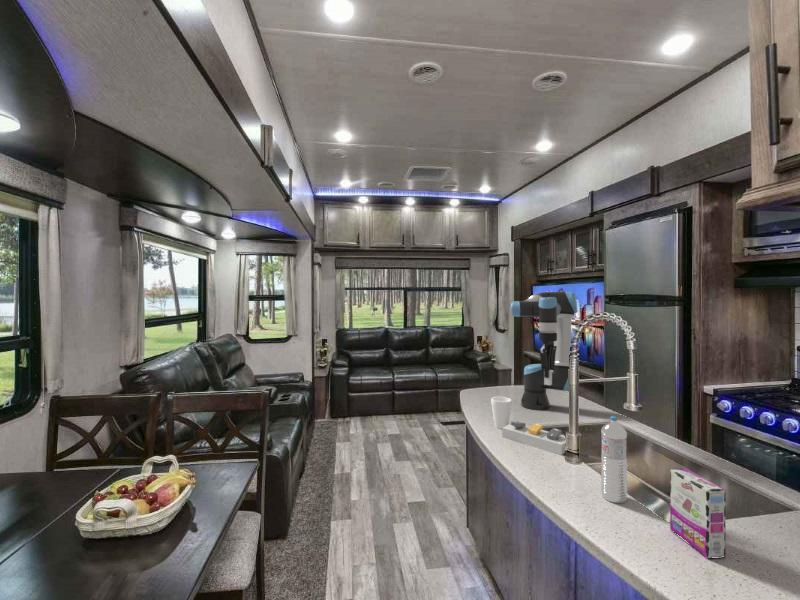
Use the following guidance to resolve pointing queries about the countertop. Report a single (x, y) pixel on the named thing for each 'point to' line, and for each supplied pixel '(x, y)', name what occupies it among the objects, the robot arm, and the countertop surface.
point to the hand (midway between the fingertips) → (548, 384)
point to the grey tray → (536, 439)
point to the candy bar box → (698, 512)
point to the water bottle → (614, 462)
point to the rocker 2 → (554, 433)
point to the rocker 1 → (518, 424)
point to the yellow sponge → (535, 428)
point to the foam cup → (501, 411)
